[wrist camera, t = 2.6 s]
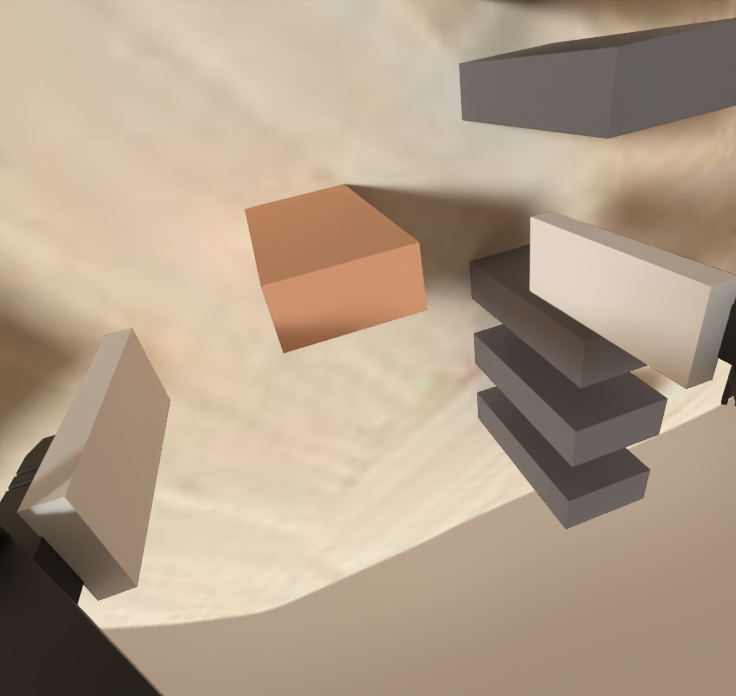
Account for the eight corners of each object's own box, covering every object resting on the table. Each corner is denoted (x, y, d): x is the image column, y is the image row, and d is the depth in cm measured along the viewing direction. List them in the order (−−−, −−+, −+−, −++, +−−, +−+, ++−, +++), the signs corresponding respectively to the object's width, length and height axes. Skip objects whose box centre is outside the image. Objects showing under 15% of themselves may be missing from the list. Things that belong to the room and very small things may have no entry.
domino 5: (477, 392, 32) (568, 501, 23) (539, 371, 32) (650, 469, 24) (478, 417, 33) (565, 529, 25) (538, 397, 34) (643, 498, 25)
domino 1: (244, 209, 21) (261, 285, 13) (344, 184, 22) (419, 242, 14) (259, 256, 23) (283, 352, 14) (353, 231, 23) (427, 309, 15)
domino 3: (469, 262, 26) (585, 342, 18) (545, 240, 27) (689, 307, 19) (471, 298, 28) (580, 388, 19) (543, 276, 28) (678, 354, 20)
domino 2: (459, 63, 21) (617, 46, 13) (553, 43, 22) (762, 14, 13) (462, 120, 22) (607, 138, 14) (551, 98, 23) (739, 104, 15)
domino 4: (473, 333, 29) (576, 431, 21) (542, 311, 30) (667, 398, 21) (475, 363, 30) (572, 467, 22) (541, 341, 31) (658, 434, 23)
